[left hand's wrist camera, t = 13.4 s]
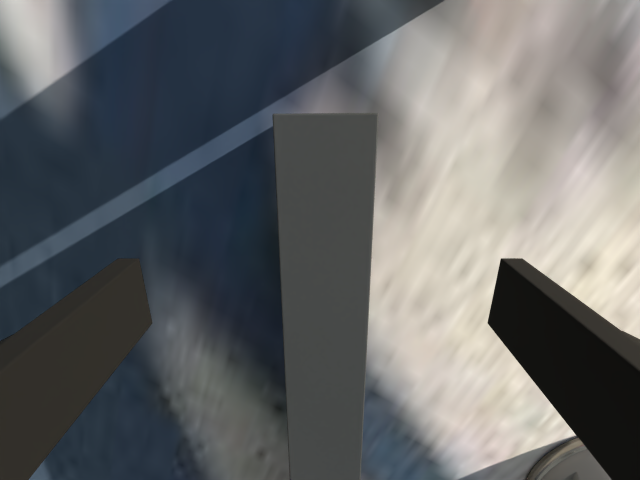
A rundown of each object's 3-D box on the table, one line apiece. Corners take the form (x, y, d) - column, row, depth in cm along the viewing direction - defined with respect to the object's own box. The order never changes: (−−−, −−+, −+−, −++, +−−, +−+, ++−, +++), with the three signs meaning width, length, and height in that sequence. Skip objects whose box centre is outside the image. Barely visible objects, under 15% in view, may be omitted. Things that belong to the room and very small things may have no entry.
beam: (289, 116, 24) (272, 113, 16) (360, 115, 24) (378, 113, 16) (304, 602, 44) (300, 709, 36) (344, 603, 44) (349, 709, 36)
